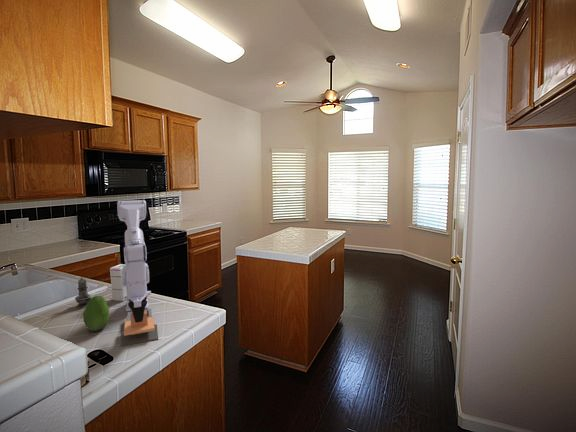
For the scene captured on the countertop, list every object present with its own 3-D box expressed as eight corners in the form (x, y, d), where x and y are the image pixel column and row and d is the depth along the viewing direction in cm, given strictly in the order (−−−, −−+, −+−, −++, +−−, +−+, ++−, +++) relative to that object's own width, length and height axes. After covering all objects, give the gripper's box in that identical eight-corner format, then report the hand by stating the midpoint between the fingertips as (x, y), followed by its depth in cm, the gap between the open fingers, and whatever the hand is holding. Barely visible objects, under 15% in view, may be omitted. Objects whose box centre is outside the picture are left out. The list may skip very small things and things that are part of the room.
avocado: (115, 324, 115) (113, 292, 114) (99, 335, 108) (97, 301, 106) (95, 323, 117) (92, 291, 115) (78, 333, 109) (75, 299, 107)
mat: (122, 331, 111) (122, 329, 111) (156, 325, 115) (156, 324, 115) (120, 346, 101) (120, 345, 101) (158, 339, 106) (158, 338, 105)
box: (128, 320, 119) (127, 312, 119) (151, 316, 123) (151, 308, 122) (127, 329, 112) (126, 321, 112) (152, 325, 115) (151, 317, 115)
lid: (125, 326, 110) (124, 310, 109) (153, 321, 114) (153, 306, 113) (124, 338, 102) (123, 321, 101) (154, 333, 106) (153, 316, 105)
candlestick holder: (81, 302, 135) (79, 274, 134) (95, 302, 135) (93, 274, 133) (72, 308, 129) (69, 279, 128) (86, 308, 129) (84, 279, 128)
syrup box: (123, 301, 136) (121, 268, 134) (111, 300, 137) (109, 267, 136) (132, 296, 142) (131, 264, 140) (121, 295, 143) (119, 263, 141)
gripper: (150, 285, 101) (152, 326, 103) (149, 272, 114) (151, 309, 116) (125, 289, 98) (128, 331, 100) (127, 275, 111) (129, 312, 113)
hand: (139, 319), depth 107 cm, fingers closed on lid, 2 cm apart
